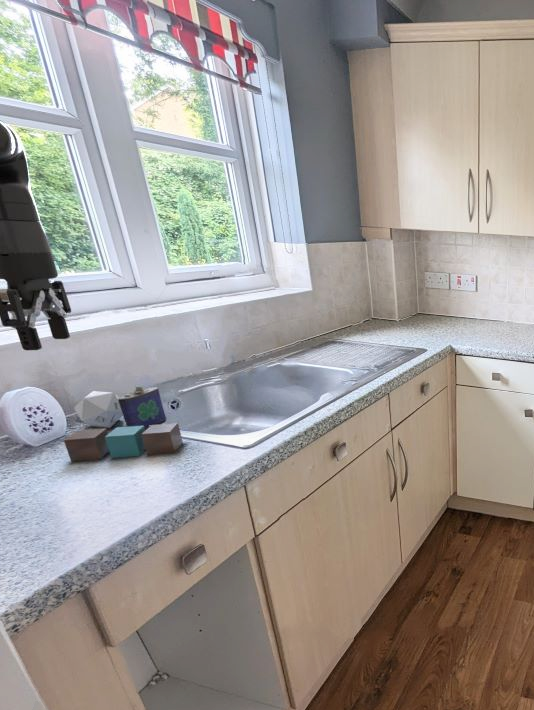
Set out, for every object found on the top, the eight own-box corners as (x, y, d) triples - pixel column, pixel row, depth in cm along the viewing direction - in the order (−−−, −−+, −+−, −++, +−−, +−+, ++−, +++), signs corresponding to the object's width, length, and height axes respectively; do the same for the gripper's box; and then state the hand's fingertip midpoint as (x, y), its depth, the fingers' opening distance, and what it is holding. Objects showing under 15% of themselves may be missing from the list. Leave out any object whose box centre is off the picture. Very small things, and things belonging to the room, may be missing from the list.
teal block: (111, 458, 96) (104, 436, 94) (122, 448, 100) (116, 427, 98) (140, 455, 97) (133, 434, 96) (149, 445, 102) (144, 425, 100)
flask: (160, 419, 115) (150, 379, 111) (171, 420, 115) (161, 380, 111) (125, 434, 106) (112, 391, 103) (136, 435, 106) (123, 392, 102)
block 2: (147, 455, 98) (141, 434, 96) (156, 445, 102) (151, 424, 100) (174, 452, 99) (169, 431, 98) (182, 442, 104) (178, 422, 102)
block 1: (71, 461, 94) (63, 440, 92) (84, 451, 98) (77, 430, 96) (101, 459, 95) (94, 437, 93) (112, 448, 100) (106, 428, 98)
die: (84, 438, 105) (108, 403, 105) (57, 415, 106) (80, 380, 105) (121, 435, 113) (143, 403, 113) (95, 414, 114) (117, 382, 114)
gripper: (17, 246, 80) (45, 335, 86) (-46, 249, 68) (-9, 354, 73) (71, 248, 83) (95, 335, 88) (20, 252, 70) (51, 353, 76)
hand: (48, 344), depth 81 cm, fingers open, 8 cm apart
